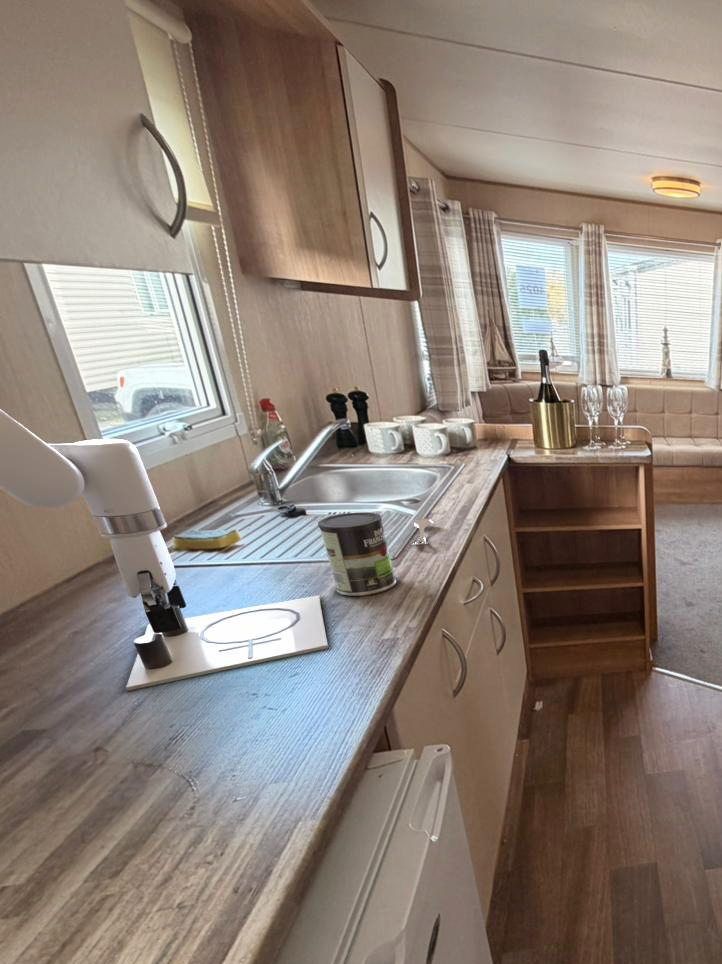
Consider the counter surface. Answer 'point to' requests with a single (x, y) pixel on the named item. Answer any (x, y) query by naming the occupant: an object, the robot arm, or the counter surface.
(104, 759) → the counter surface
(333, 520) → the coffee can
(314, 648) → the board
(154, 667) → the dot
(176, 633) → the dot
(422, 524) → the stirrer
